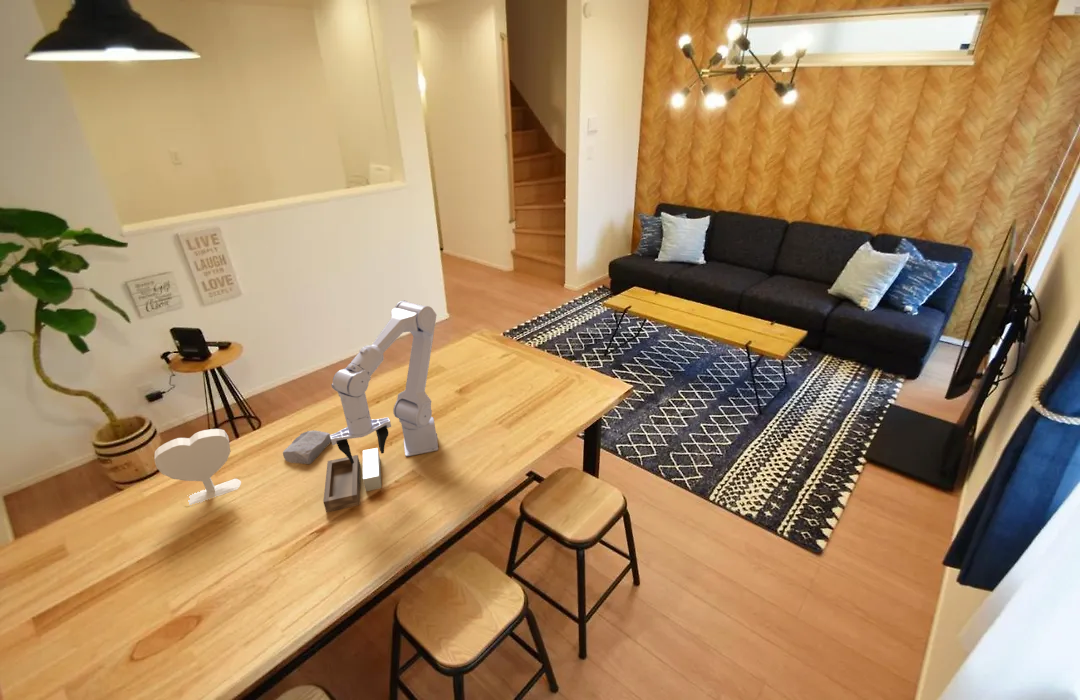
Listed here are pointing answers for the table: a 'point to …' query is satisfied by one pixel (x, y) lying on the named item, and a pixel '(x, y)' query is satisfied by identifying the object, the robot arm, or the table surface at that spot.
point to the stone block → (307, 447)
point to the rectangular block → (371, 469)
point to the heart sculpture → (197, 462)
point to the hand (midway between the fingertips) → (367, 456)
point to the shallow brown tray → (342, 484)
